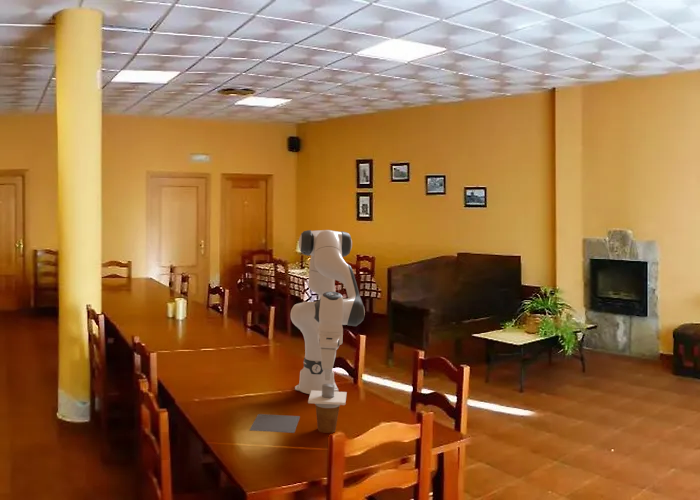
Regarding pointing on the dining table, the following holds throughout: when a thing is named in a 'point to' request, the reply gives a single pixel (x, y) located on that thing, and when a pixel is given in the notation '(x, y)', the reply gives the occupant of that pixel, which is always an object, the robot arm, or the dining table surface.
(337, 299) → the robot arm
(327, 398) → the lid
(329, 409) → the disposable coffee cup
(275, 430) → the mat
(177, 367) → the dining table surface
